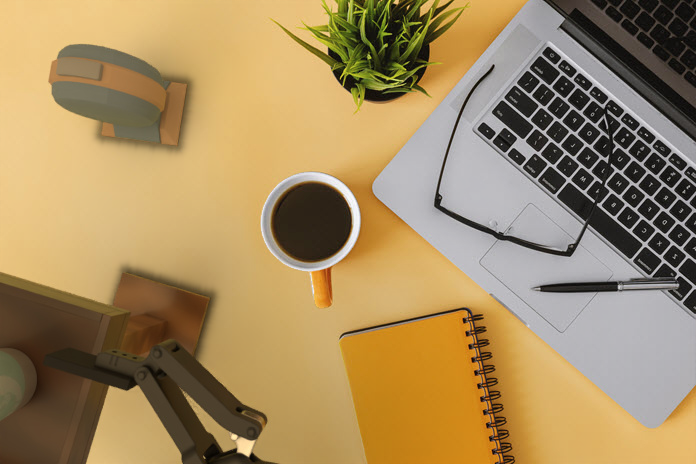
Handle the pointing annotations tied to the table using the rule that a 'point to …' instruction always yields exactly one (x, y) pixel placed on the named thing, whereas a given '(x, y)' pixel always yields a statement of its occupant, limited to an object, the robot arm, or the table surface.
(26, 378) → the coffee cup
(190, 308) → the tray stand
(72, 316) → the serving tray
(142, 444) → the table surface
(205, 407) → the robot arm
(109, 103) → the alarm clock
